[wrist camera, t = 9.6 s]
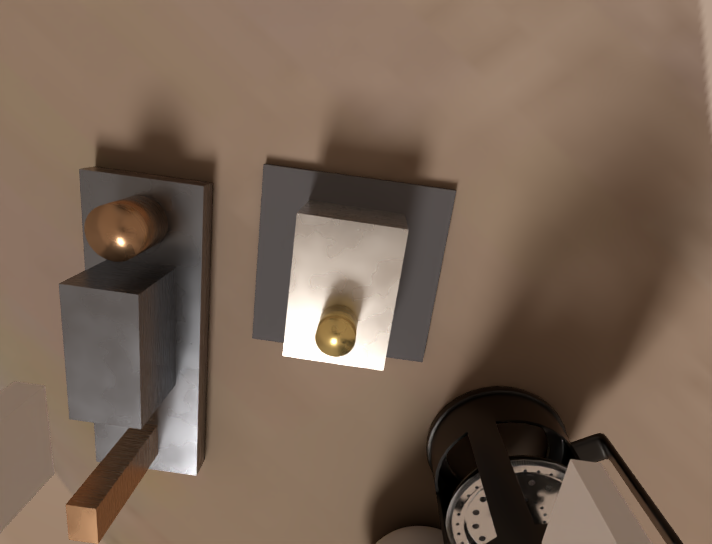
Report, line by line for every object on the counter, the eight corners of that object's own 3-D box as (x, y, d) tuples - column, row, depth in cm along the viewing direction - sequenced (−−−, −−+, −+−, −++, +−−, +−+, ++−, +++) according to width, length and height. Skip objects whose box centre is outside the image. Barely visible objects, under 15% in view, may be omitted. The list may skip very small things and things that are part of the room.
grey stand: (95, 166, 27) (-27, 185, 19) (212, 182, 27) (141, 209, 19) (108, 446, 33) (21, 550, 25) (204, 460, 33) (148, 568, 25)
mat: (265, 163, 27) (263, 164, 26) (455, 189, 26) (456, 190, 26) (254, 335, 30) (252, 338, 30) (421, 359, 30) (422, 362, 30)
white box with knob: (308, 199, 27) (289, 221, 21) (404, 214, 27) (411, 239, 21) (295, 325, 29) (274, 374, 23) (383, 338, 29) (383, 391, 23)
